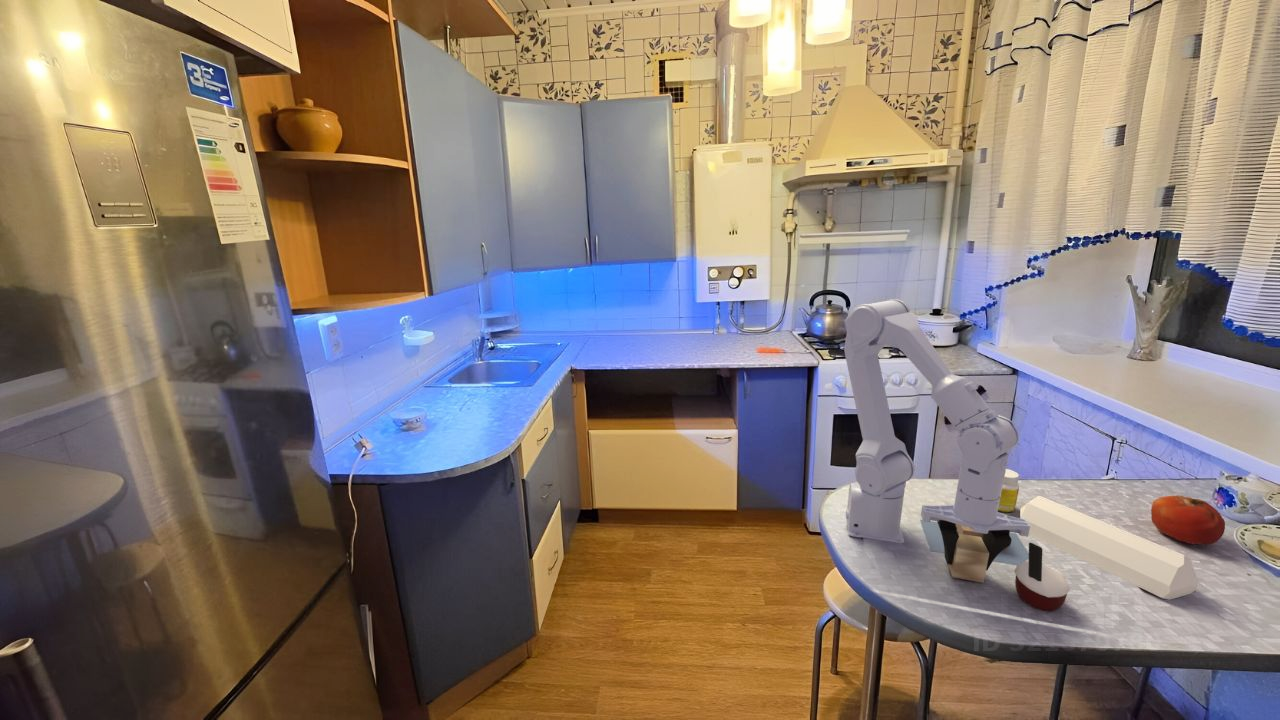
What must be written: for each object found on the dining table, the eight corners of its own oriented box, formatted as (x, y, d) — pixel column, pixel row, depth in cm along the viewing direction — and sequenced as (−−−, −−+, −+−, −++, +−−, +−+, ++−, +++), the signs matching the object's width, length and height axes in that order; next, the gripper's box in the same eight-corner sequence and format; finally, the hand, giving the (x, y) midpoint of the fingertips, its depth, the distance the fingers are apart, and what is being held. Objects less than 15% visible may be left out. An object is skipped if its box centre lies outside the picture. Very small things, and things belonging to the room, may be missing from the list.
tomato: (1140, 516, 97) (1150, 480, 95) (1208, 531, 92) (1220, 493, 90) (1152, 542, 90) (1163, 503, 87) (1227, 559, 85) (1241, 519, 82)
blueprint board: (930, 553, 88) (930, 550, 88) (919, 521, 98) (919, 519, 97) (1037, 570, 83) (1038, 568, 83) (1015, 535, 92) (1016, 533, 92)
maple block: (952, 577, 81) (957, 548, 80) (945, 560, 85) (950, 532, 84) (983, 582, 80) (989, 553, 78) (975, 564, 84) (980, 536, 82)
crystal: (1213, 569, 77) (1038, 497, 98) (1203, 562, 74) (1023, 489, 94) (1192, 611, 77) (1022, 530, 98) (1181, 607, 74) (1006, 524, 95)
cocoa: (1043, 587, 80) (1058, 521, 77) (1081, 616, 74) (1099, 545, 71) (990, 592, 79) (1003, 524, 76) (1023, 621, 73) (1039, 549, 70)
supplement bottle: (1018, 517, 98) (1026, 479, 96) (992, 515, 99) (999, 477, 97) (1006, 504, 102) (1013, 467, 100) (981, 502, 103) (987, 466, 101)
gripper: (932, 497, 77) (920, 570, 81) (1044, 512, 72) (1027, 589, 76) (923, 475, 83) (913, 544, 87) (1025, 487, 79) (1010, 560, 82)
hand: (965, 563), depth 82 cm, fingers closed on maple block, 4 cm apart
